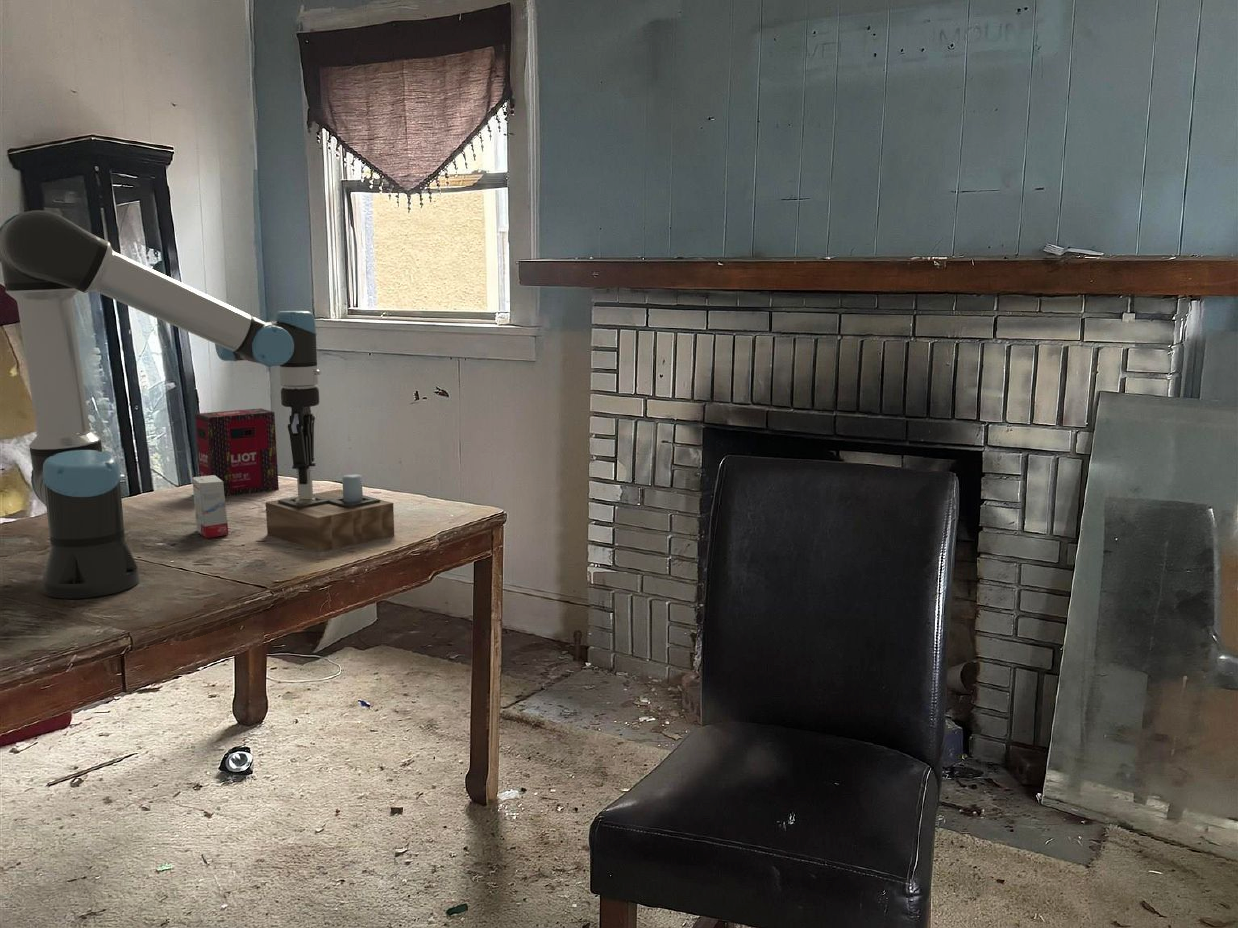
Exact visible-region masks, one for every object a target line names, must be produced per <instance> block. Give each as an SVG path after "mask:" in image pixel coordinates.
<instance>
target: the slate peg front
mask: <svg viewBox="0 0 1238 928" xmlns="http://www.w3.org/2000/svg"><path fill="white" fill-rule="evenodd" d="M341 478H342V480H341V481H342V482H341V483H342V490H343V502H346V503H355V502H360V501H363V495H364V493H363V475H361V474H346V475H345V474H344V475H343V476H342V477H341Z"/></svg>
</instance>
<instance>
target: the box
mask: <svg viewBox="0 0 1238 928" xmlns="http://www.w3.org/2000/svg"><path fill="white" fill-rule="evenodd" d="M194 416H195V417H194V418H195V430H196V431H195V432H196V434H195V435H196V444H197V445H196V446H197V457H198V458H197V459H198V461H197V462H198V470H199V472H198V473H199V476H198V477H201V476H211V475H215V476H217V477H218V478H219V479H220V480H222V481H223V486H224V496H225V498H228V497H235V496H243V495H251V494H258V492H259V493H264V492H263V491H266V492H271V491H272V492H273V491H278V490H279V489H280V488H279V486H280V485H279V470H278V451H277V437H276V419H275V417H276V416H275V411H273V410H269V409H265V408H259V407H258V408H248V409H237V410H222V411H213V412H200V413H194Z"/></svg>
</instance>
